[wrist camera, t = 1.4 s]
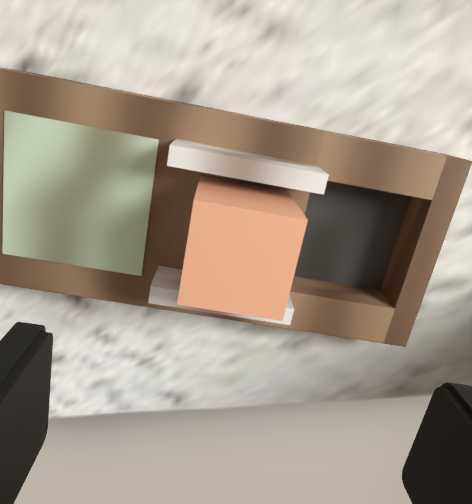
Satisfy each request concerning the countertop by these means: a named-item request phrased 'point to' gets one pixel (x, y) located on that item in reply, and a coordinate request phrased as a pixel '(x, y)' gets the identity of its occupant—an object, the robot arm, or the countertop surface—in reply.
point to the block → (241, 249)
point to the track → (182, 196)
